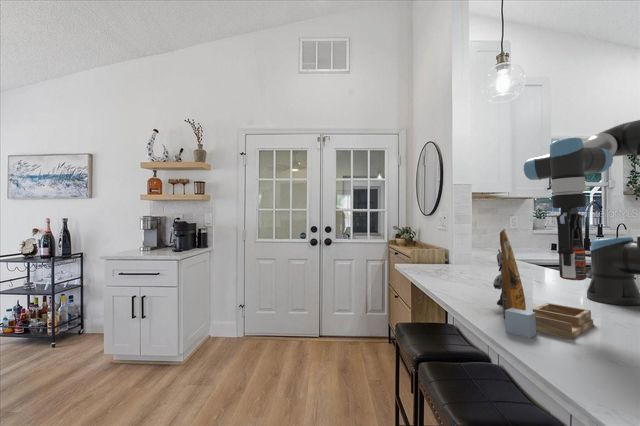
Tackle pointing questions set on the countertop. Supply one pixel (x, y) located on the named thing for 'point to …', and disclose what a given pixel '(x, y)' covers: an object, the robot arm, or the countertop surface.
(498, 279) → the robot
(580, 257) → the supplement bottle
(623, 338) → the countertop surface
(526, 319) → the wing block
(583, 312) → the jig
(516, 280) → the pancake mix bag
